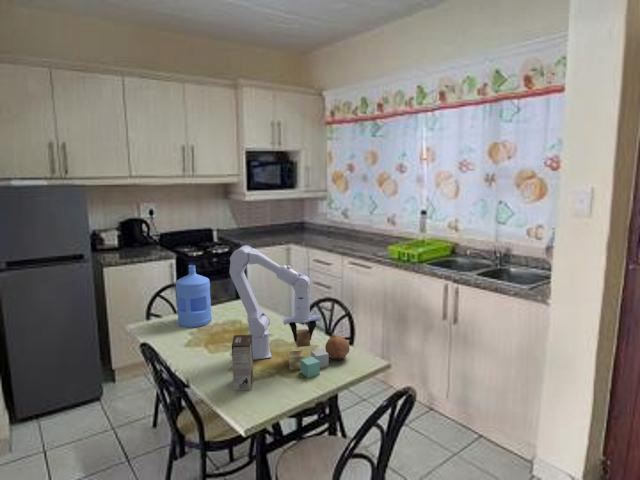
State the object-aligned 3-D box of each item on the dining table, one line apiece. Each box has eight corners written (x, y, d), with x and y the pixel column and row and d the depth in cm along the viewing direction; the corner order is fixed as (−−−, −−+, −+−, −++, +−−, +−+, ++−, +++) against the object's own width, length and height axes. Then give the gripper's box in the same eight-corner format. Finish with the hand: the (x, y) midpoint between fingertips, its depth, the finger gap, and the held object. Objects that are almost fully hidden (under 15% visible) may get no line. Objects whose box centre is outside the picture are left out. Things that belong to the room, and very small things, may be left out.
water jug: (186, 316, 220) (183, 261, 216) (216, 317, 218) (214, 262, 213) (172, 327, 205) (168, 269, 200) (204, 329, 203) (201, 270, 198)
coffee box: (235, 377, 156) (233, 334, 153) (253, 377, 156) (252, 334, 154) (232, 390, 147) (230, 345, 144) (252, 389, 147) (250, 344, 145)
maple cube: (289, 369, 162) (289, 356, 161) (289, 363, 167) (288, 351, 166) (302, 369, 163) (302, 356, 162) (302, 363, 167) (302, 350, 167)
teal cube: (308, 378, 156) (307, 364, 155) (300, 372, 160) (300, 359, 159) (319, 374, 158) (319, 361, 157) (312, 369, 162) (312, 356, 162)
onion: (330, 362, 175) (324, 337, 177) (353, 356, 174) (346, 331, 176) (327, 364, 165) (321, 337, 168) (351, 357, 165) (344, 331, 167)
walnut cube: (297, 347, 168) (297, 334, 168) (295, 342, 173) (294, 330, 172) (310, 345, 170) (310, 333, 169) (307, 340, 174) (307, 328, 174)
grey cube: (316, 368, 163) (316, 356, 162) (311, 363, 167) (311, 351, 166) (328, 366, 165) (328, 353, 164) (323, 361, 169) (323, 348, 168)
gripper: (285, 311, 163) (285, 345, 166) (322, 308, 167) (322, 342, 169) (282, 305, 170) (282, 338, 172) (318, 302, 174) (318, 335, 176)
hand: (302, 340), depth 171 cm, fingers closed on walnut cube, 5 cm apart
